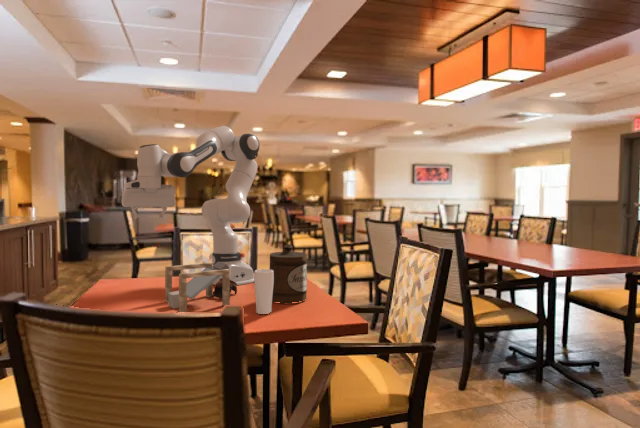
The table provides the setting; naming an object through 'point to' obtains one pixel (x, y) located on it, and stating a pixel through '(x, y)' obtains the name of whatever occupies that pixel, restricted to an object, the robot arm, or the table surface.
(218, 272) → the frame
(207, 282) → the trapdoor
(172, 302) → the block
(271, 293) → the tall white cup
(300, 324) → the table surface
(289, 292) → the wooden container
